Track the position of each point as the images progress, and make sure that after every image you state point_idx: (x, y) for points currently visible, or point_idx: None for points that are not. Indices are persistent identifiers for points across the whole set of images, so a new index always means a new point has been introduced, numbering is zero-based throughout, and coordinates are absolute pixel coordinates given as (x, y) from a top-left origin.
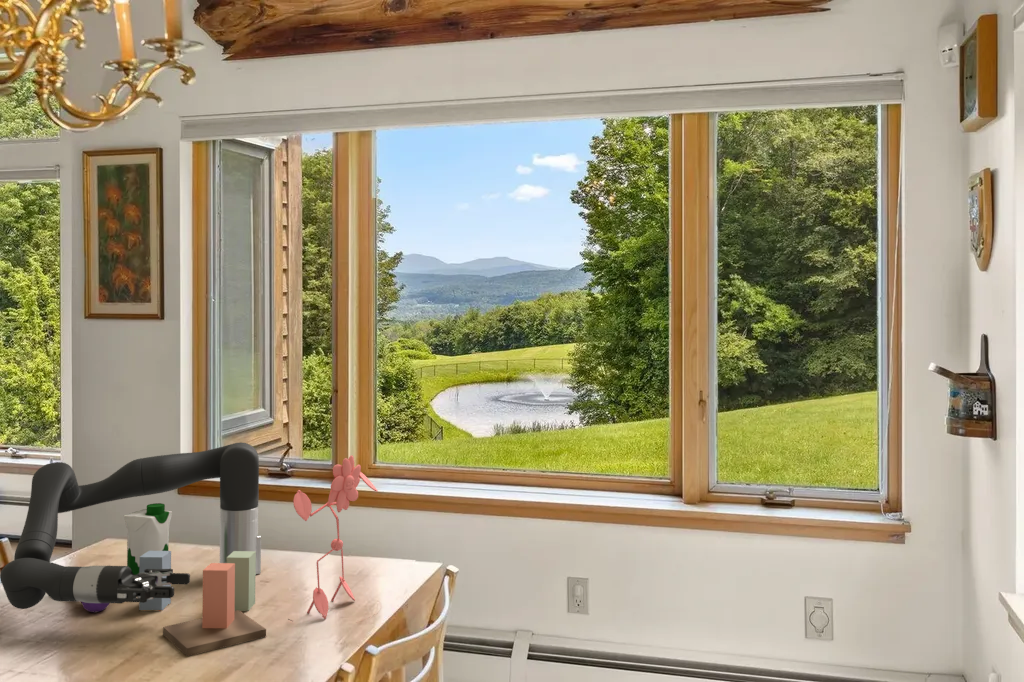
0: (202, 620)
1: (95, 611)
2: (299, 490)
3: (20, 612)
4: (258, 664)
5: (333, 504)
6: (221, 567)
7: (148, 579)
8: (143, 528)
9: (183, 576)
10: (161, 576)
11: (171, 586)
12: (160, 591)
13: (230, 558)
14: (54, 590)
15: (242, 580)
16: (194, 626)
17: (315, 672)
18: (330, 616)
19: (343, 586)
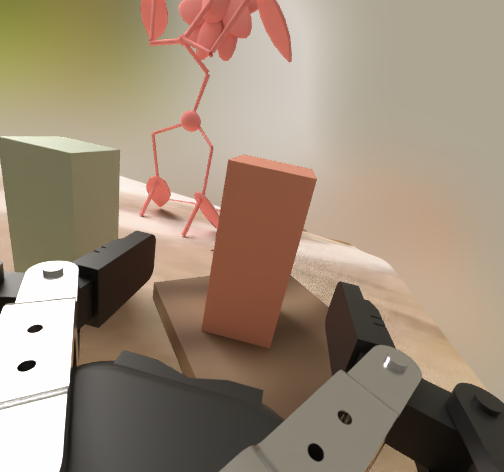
0: (274, 330)
1: None
2: None
3: None
4: (388, 298)
5: (177, 43)
6: (282, 165)
7: (171, 398)
8: None
9: (141, 251)
10: (76, 320)
11: (345, 283)
12: (382, 334)
13: (80, 156)
14: None
15: (108, 216)
16: (254, 366)
17: (387, 264)
18: (206, 227)
19: (168, 188)
